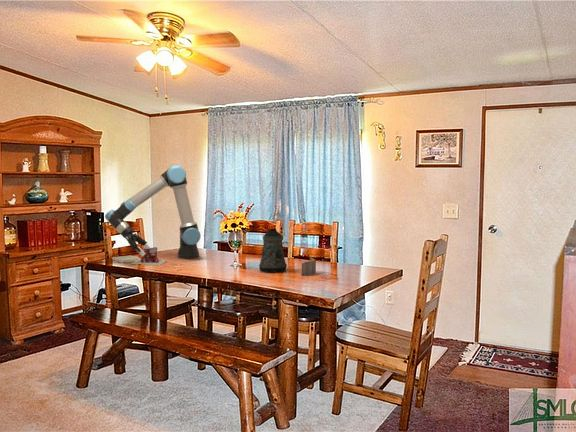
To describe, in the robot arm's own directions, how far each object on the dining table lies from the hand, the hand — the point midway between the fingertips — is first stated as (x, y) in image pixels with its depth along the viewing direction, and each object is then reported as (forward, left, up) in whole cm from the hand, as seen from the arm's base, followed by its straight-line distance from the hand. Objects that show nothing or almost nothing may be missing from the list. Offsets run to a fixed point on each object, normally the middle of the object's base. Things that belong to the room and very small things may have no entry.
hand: (147, 253), depth 326 cm
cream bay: (+19, -12, -7) cm, 24 cm away
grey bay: (-1, 0, -7) cm, 7 cm away
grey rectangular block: (-105, +26, -7) cm, 108 cm away
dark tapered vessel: (-82, +16, -7) cm, 84 cm away
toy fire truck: (-1, 0, -7) cm, 7 cm away
